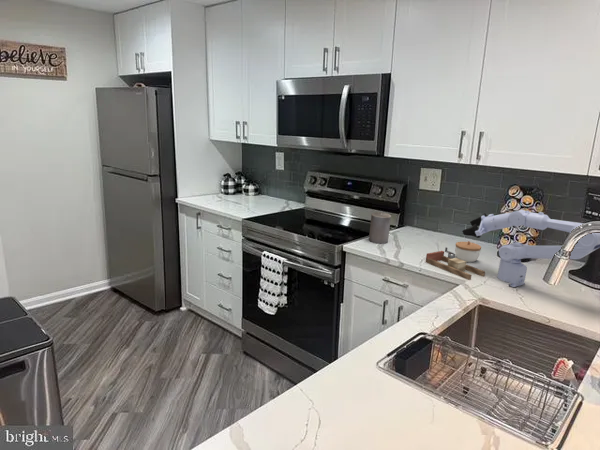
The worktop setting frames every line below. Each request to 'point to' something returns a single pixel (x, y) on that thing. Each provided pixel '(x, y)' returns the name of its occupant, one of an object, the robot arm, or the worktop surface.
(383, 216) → the pillar candle
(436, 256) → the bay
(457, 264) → the tan wooden block
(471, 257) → the lidded jar
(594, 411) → the worktop surface
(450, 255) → the winch
